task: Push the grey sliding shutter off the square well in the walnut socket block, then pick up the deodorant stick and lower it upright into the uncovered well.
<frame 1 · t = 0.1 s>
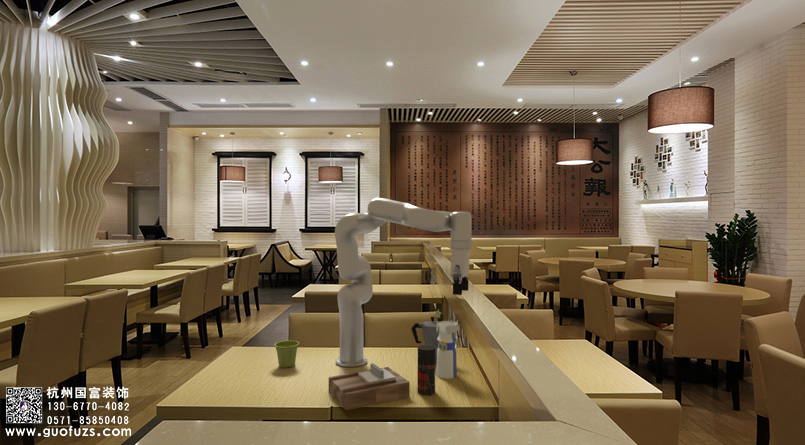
hand: (460, 292, 161), 31 cm above the table, tool pointing down, fingers open, 9 cm apart
deodorant: (426, 392, 148), on the table
socket block: (376, 392, 148), on the table
plant pot: (286, 366, 174), on the table
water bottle: (447, 375, 164), on the table
shutter: (376, 372, 147), point 7 cm above the table, slide at 0.0 cm
coffeepot: (429, 361, 181), on the table
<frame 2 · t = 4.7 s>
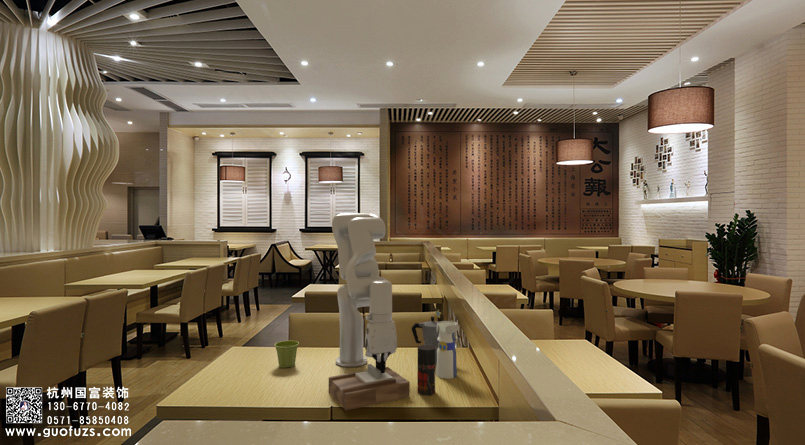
hand: (380, 372, 148), 7 cm above the table, tool pointing down, fingers closed
shutter: (373, 372, 147), point 7 cm above the table, slide at 1.1 cm, touching gripper
everything else where it was.
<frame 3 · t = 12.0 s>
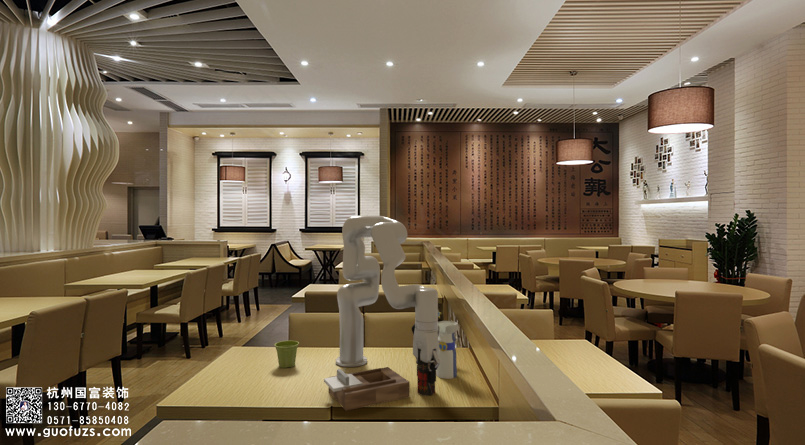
hand: (426, 378, 148), 5 cm above the table, tool pointing down, fingers closed on deodorant, 5 cm apart
deodorant: (426, 392, 148), on the table, touching gripper
shutter: (342, 378, 142), point 7 cm above the table, slide at 12.0 cm
everything else where it was.
when the fingers open (6 cm above the table, at t = 17.3 s): deodorant drops 1 cm, resting in socket block.
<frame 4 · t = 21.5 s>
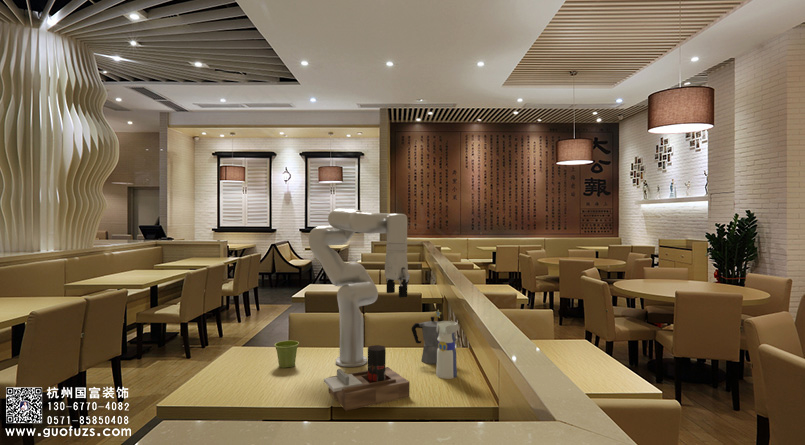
hand: (396, 294, 161), 30 cm above the table, tool pointing down, fingers open, 9 cm apart
deodorant: (376, 393, 148), resting in socket block
everything else where it was.
at the end: deodorant 0.2 cm off-centre on the socket block, point 0.0 cm above the socket block's base; deodorant tilted 0°; shutter slide at 12.0 cm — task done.
